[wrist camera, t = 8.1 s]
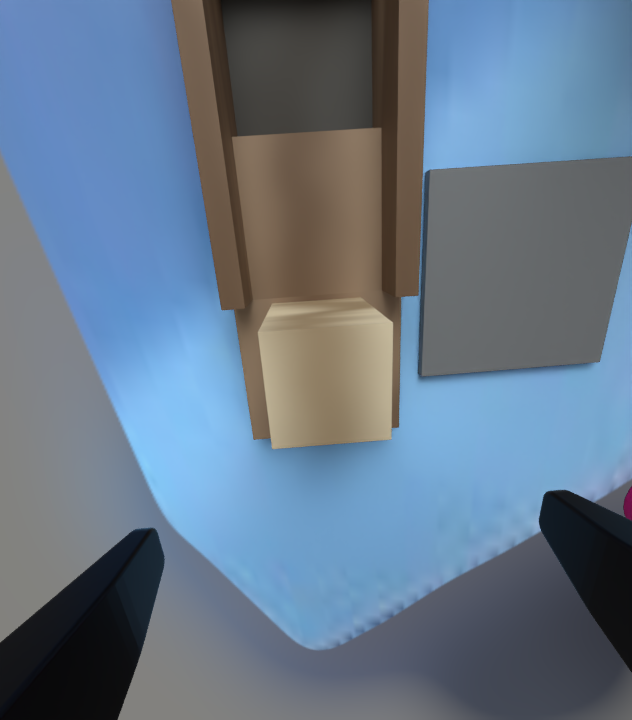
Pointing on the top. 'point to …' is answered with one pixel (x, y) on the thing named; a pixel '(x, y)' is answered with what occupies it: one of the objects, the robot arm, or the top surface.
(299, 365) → the maple block
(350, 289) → the walnut trough
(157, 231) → the top surface
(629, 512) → the pepper mill
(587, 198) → the slate pad
